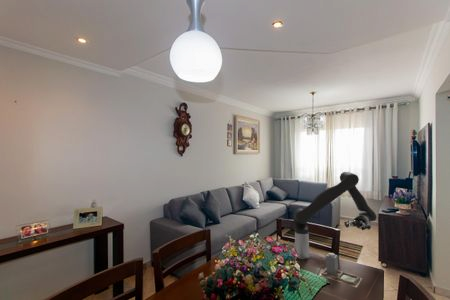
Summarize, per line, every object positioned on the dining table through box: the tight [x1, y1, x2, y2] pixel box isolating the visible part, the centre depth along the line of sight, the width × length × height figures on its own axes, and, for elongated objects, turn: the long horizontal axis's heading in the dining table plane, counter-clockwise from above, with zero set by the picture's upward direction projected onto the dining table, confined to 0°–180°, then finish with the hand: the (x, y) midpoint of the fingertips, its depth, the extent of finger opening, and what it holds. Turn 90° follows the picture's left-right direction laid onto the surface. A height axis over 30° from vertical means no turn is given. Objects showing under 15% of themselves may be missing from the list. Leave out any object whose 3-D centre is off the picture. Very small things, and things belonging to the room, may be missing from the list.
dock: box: [318, 267, 363, 288], centre depth 135 cm, size 20×12×2 cm, turn 47°
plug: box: [325, 252, 339, 276], centre depth 138 cm, size 5×5×12 cm
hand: (354, 227), depth 143 cm, fingers open, 8 cm apart
